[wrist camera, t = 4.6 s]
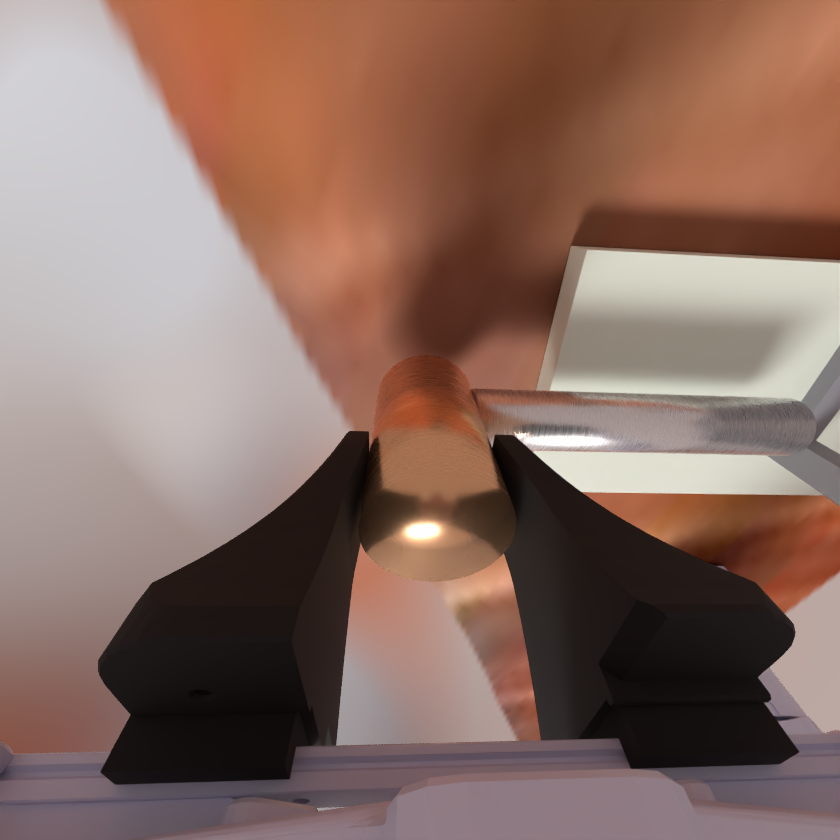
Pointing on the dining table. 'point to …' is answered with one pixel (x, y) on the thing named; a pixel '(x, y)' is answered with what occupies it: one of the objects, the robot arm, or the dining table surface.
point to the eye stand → (700, 359)
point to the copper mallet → (540, 431)
